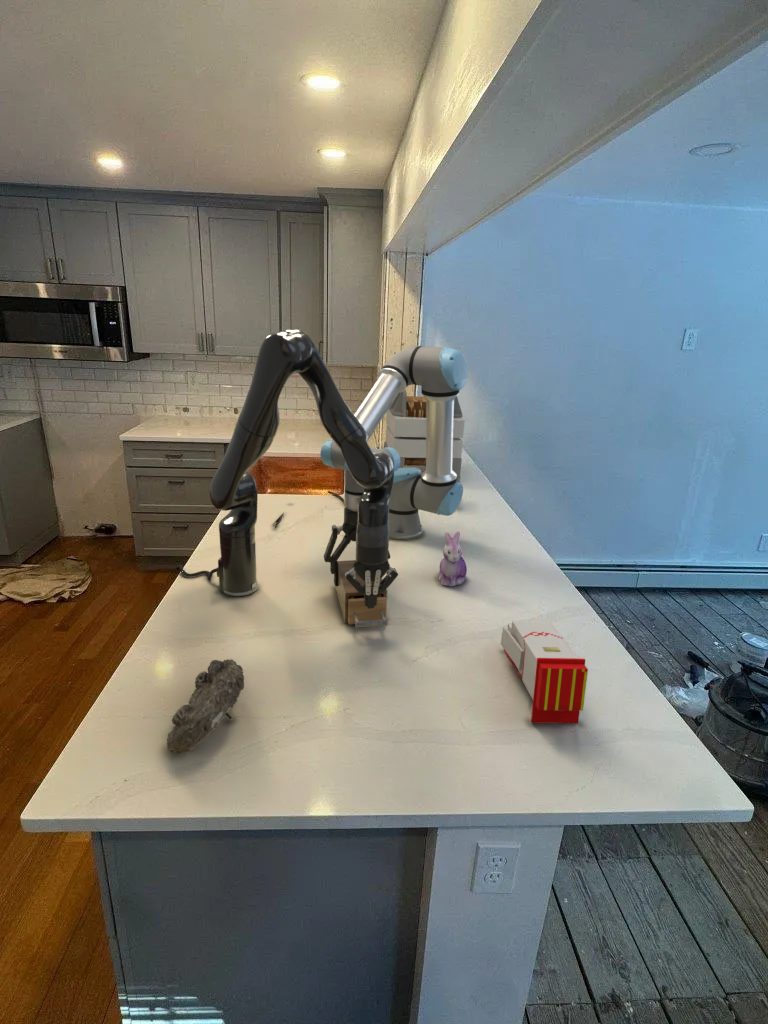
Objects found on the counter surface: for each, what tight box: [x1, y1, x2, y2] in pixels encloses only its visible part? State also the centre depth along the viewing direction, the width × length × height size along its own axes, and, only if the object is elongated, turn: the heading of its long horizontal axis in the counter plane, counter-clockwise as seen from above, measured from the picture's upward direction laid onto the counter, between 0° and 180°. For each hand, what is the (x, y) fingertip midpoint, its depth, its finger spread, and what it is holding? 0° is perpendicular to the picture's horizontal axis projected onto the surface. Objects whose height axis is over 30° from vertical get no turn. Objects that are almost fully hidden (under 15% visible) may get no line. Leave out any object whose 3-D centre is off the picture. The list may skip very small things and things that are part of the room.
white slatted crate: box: [383, 389, 465, 483], centre depth 268 cm, size 34×33×41 cm
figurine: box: [438, 530, 468, 587], centre depth 165 cm, size 9×10×15 cm
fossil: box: [166, 658, 245, 754], centre depth 106 cm, size 22×10×15 cm
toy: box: [500, 620, 589, 724], centre depth 121 cm, size 12×13×30 cm
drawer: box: [347, 594, 388, 628], centre depth 145 cm, size 23×9×6 cm, turn 12°
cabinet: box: [334, 559, 388, 624], centre depth 151 cm, size 19×11×8 cm, turn 12°
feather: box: [273, 503, 291, 529], centre depth 211 cm, size 2×28×2 cm
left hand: (370, 606), depth 136 cm, fingers closed
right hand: (356, 582), depth 156 cm, fingers closed on cabinet, 11 cm apart
